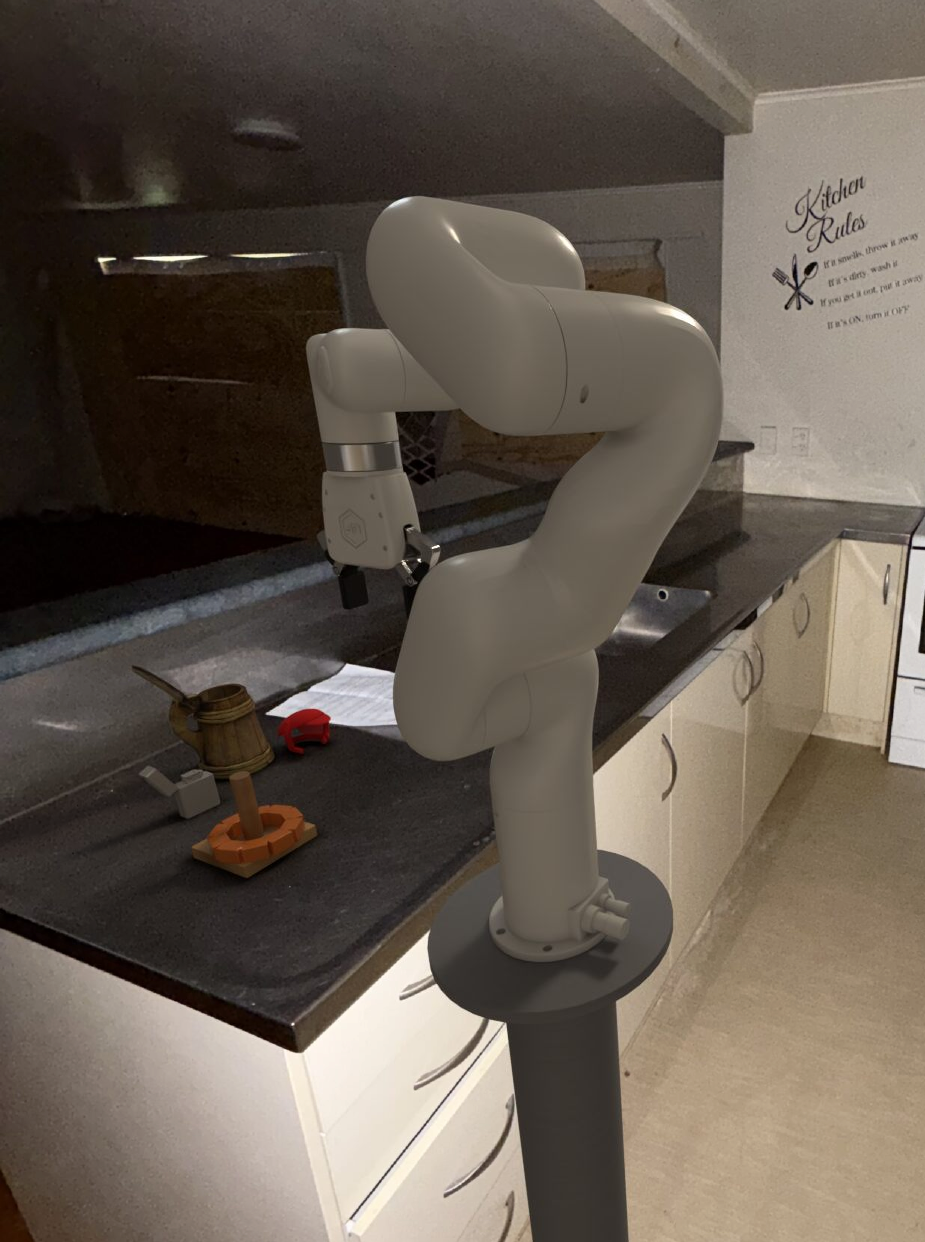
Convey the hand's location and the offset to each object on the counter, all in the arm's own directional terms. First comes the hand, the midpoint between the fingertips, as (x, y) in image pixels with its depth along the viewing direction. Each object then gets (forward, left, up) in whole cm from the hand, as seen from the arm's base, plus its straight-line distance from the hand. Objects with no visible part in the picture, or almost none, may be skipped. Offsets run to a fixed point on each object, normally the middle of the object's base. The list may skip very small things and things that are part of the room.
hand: (387, 611), depth 86 cm
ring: (+10, +14, -25) cm, 30 cm away
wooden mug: (+32, +4, -26) cm, 42 cm away
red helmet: (+27, -6, -26) cm, 38 cm away
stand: (+11, +14, -26) cm, 32 cm away
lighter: (+25, +13, -26) cm, 39 cm away
